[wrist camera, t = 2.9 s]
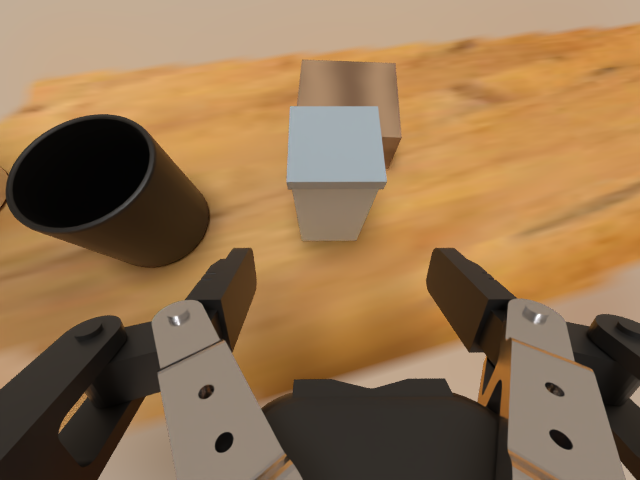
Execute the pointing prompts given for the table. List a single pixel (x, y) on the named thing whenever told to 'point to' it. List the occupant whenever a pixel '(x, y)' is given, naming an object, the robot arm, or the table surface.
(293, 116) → the grey lidded pillar
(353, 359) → the table surface
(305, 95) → the walnut block
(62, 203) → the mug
